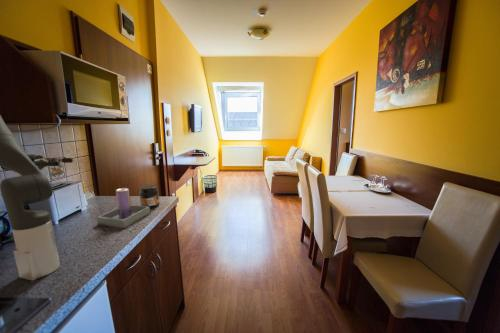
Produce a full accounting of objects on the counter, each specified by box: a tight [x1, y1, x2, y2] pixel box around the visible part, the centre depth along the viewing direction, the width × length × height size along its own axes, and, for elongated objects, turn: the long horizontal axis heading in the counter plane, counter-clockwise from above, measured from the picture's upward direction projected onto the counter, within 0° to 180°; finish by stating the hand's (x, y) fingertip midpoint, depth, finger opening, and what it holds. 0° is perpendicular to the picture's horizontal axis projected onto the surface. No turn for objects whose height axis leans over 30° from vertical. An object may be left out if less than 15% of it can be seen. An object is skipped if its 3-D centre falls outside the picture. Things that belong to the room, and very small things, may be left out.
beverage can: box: [115, 187, 132, 219], centre depth 114 cm, size 6×6×15 cm
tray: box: [96, 204, 151, 229], centre depth 115 cm, size 18×16×4 cm
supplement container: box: [138, 184, 160, 209], centre depth 132 cm, size 10×10×12 cm
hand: (65, 161), depth 101 cm, fingers open, 8 cm apart
